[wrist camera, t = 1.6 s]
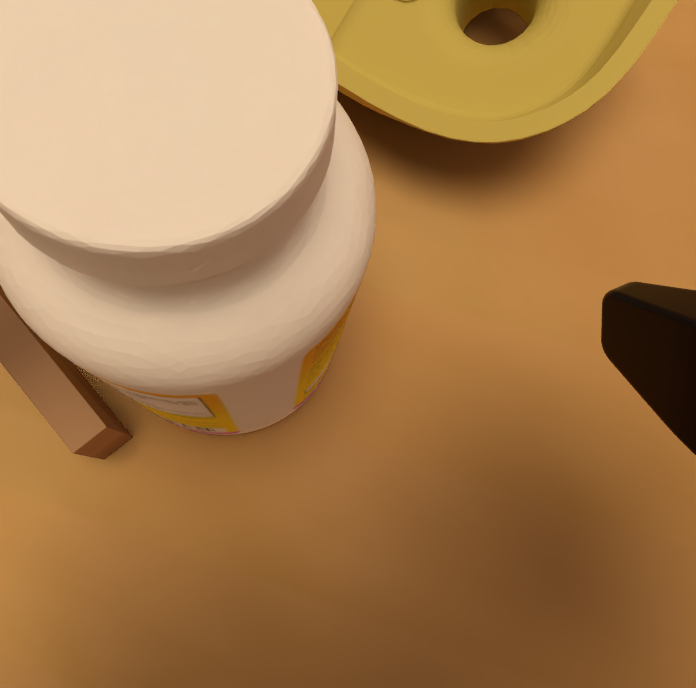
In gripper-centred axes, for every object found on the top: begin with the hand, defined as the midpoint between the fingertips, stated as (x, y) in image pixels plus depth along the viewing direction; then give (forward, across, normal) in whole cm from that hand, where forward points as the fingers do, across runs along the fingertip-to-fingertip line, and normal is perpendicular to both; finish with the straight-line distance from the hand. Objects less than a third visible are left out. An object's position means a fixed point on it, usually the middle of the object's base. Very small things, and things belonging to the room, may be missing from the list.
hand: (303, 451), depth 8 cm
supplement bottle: (+12, 0, +5) cm, 13 cm away
